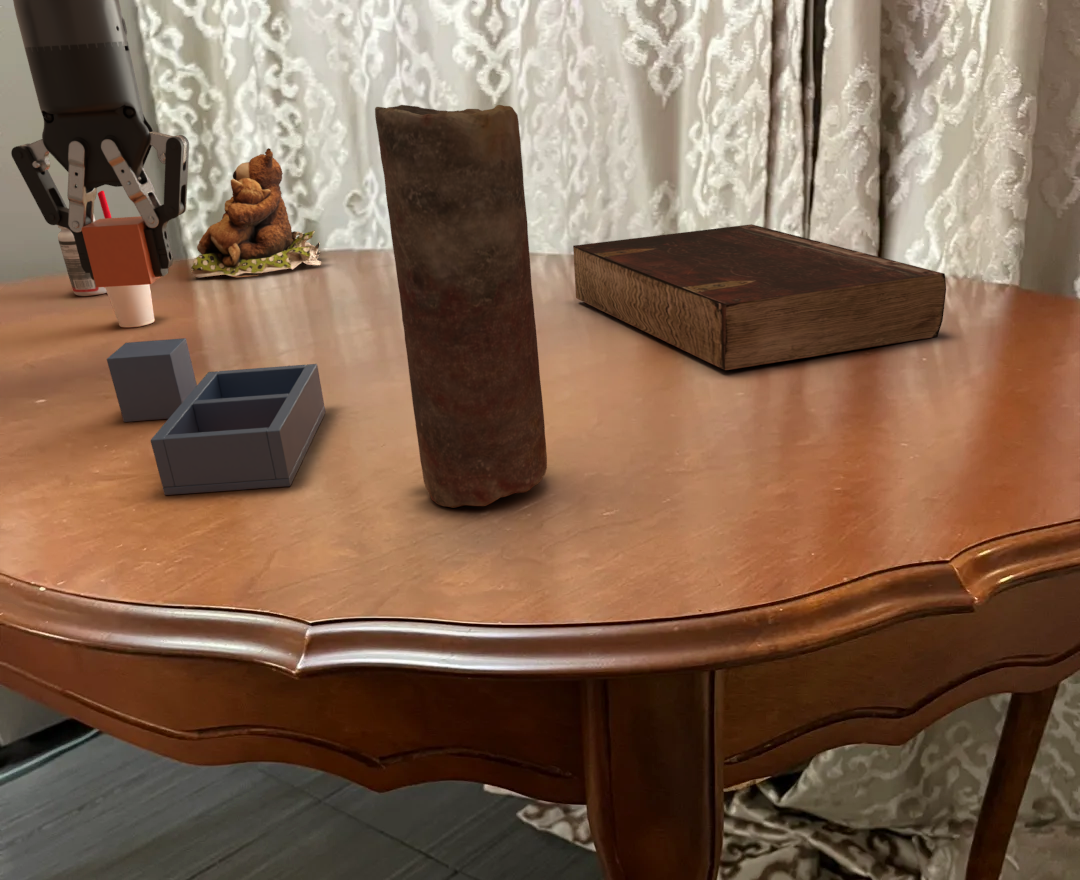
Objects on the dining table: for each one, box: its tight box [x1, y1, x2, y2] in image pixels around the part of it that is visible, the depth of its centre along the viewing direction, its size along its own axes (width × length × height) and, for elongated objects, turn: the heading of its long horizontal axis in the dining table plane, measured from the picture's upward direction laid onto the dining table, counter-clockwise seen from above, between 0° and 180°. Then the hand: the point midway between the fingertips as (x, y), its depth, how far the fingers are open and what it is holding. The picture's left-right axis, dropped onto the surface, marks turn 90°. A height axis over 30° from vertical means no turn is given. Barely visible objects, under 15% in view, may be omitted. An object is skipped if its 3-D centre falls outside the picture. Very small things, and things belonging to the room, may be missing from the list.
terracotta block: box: [81, 215, 161, 287], centre depth 93 cm, size 5×5×5 cm
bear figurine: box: [190, 148, 323, 279], centre depth 129 cm, size 14×15×12 cm
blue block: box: [106, 337, 198, 423], centre depth 83 cm, size 5×5×5 cm
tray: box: [150, 363, 326, 496], centre depth 73 cm, size 8×15×4 cm, turn 1°
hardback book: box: [572, 223, 947, 371], centre depth 94 cm, size 29×19×5 cm, turn 20°
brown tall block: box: [374, 104, 548, 508], centre depth 60 cm, size 8×7×20 cm
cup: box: [97, 190, 156, 328], centre depth 107 cm, size 5×5×12 cm
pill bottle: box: [57, 213, 107, 297], centre depth 123 cm, size 5×5×8 cm
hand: (131, 275), depth 94 cm, fingers closed on terracotta block, 4 cm apart
